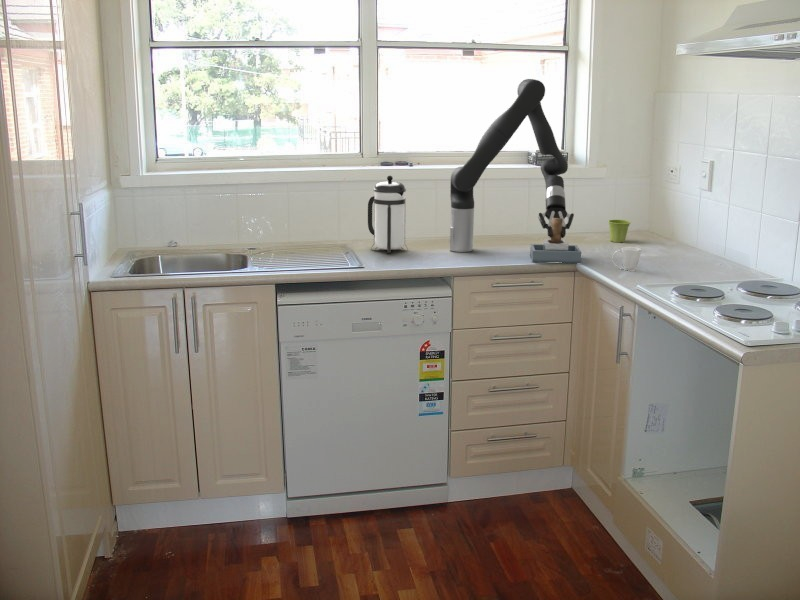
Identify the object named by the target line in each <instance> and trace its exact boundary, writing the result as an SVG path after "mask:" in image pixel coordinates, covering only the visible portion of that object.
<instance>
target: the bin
mask: <svg viewBox="0 0 800 600" xmlns="http://www.w3.org/2000/svg"><path fill="white" fill-rule="evenodd" d="M529 248H530V249H529V256H530V260H531V263H532V262H562V263H561V264H568V263H571V264H570V265H572V264H573V265H577V263H581V261H582V251H581V249H580V247H579V246H578V245H576V244H568V251H543V243H541V244H538V243H537V244H536V243H534V244H533V243H531V244H529ZM581 264H582V263H581Z"/></svg>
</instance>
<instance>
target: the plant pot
mask: <svg viewBox="0 0 800 600" xmlns="http://www.w3.org/2000/svg"><path fill="white" fill-rule="evenodd" d="M607 222H608V225H609V236H610V237H609V240H610V242H613V243H618V242H619V243H625V242H626V238H627V233H628V230H629V227H630V224H631V223H632V221H629V220H626V219H625V220H624V219H608V221H607Z"/></svg>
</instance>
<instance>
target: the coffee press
mask: <svg viewBox="0 0 800 600" xmlns="http://www.w3.org/2000/svg"><path fill="white" fill-rule="evenodd" d="M393 179H394V178H393V176H392V175H388V176H387V177H386V181H380V182H378V183H376V184H375V186H374V187H373V192H374V195H373V196H371V197H370V198H369V200H368V202H367V227H368V230H369V233H370V234H371V235H372V236H373V239H374V243H373V244H372V245H371V247H370V250H371V251H375V250H376V249H380V250H386V251H387V252H386V255H391V254H392V252H391V250H399V249H402V250H404V251H405V252H408V249H409V247H408V246H407V244H406V243H405V239H406V191H407V189H406V187H405V185H404V184H403V183H402V182H399V181H393ZM373 207H374V224H373ZM374 246H375V248H374V249H372V248H373V247H374ZM404 246H405V247H406V248H407V249H405V248H404Z"/></svg>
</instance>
